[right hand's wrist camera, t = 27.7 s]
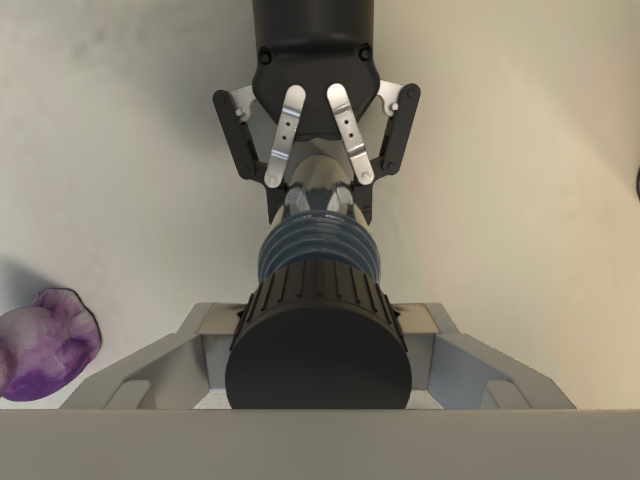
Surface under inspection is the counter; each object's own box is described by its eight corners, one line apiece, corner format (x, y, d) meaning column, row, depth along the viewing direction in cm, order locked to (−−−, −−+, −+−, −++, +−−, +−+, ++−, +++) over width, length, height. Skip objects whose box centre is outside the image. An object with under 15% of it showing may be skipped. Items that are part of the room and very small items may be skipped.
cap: (342, 403, 11) (348, 479, 9) (220, 346, 10) (190, 413, 8) (422, 301, 10) (454, 360, 8) (289, 228, 9) (279, 267, 7)
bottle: (332, 215, 33) (362, 458, 10) (285, 194, 32) (193, 401, 9) (355, 168, 32) (456, 321, 8) (306, 145, 31) (261, 240, 7)
